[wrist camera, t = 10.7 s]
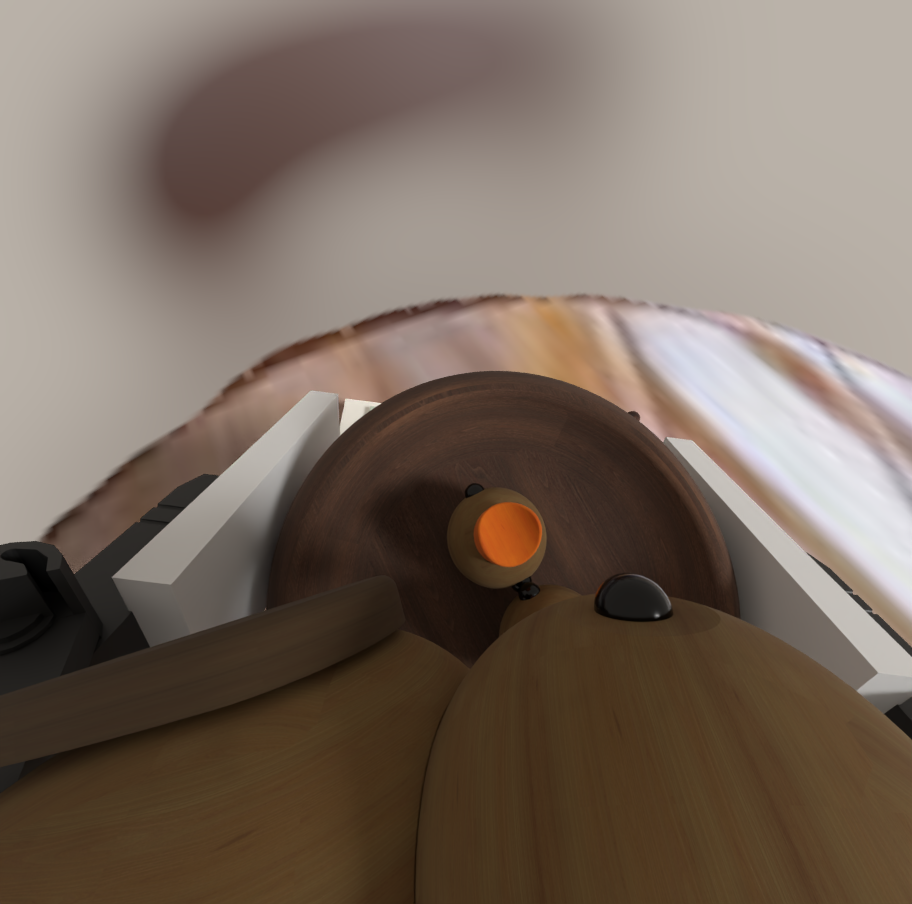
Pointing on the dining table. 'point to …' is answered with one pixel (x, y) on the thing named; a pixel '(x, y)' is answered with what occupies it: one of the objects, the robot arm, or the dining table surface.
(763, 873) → the music box
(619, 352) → the dining table surface
